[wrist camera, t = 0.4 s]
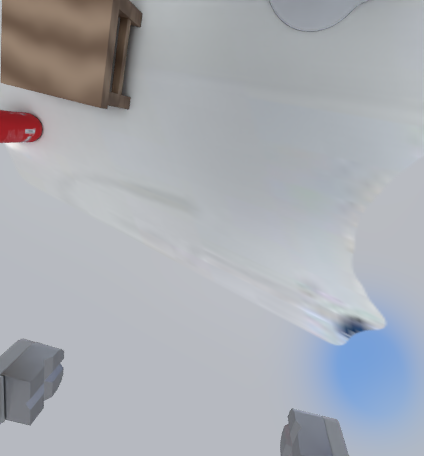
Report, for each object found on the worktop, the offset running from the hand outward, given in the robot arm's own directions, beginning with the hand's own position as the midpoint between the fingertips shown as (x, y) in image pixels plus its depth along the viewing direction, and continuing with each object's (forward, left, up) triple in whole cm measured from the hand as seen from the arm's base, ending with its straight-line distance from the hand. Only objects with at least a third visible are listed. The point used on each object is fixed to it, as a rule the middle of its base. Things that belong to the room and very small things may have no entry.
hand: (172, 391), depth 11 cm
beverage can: (0, -42, -48) cm, 64 cm away
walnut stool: (-15, -31, -48) cm, 59 cm away
